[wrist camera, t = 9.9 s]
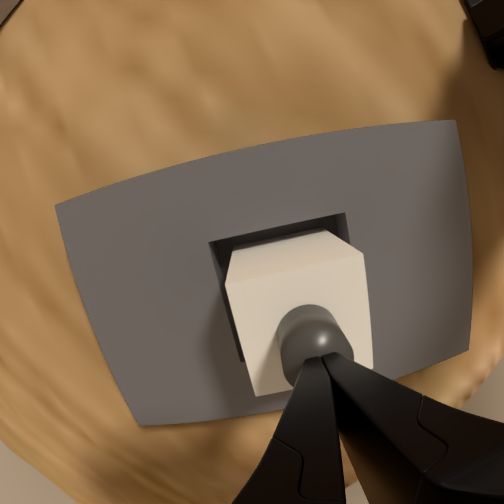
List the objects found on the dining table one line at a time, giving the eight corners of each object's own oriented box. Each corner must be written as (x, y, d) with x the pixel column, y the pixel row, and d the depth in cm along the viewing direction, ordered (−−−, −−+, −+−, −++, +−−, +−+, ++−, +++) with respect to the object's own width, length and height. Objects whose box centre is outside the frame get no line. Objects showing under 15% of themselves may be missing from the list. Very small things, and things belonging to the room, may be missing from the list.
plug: (321, 227, 15) (388, 270, 8) (334, 308, 16) (393, 399, 9) (233, 246, 16) (219, 310, 8) (253, 326, 17) (257, 433, 9)
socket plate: (431, 125, 15) (455, 119, 12) (448, 333, 18) (468, 350, 15) (78, 201, 16) (54, 205, 13) (148, 401, 18) (138, 425, 16)
